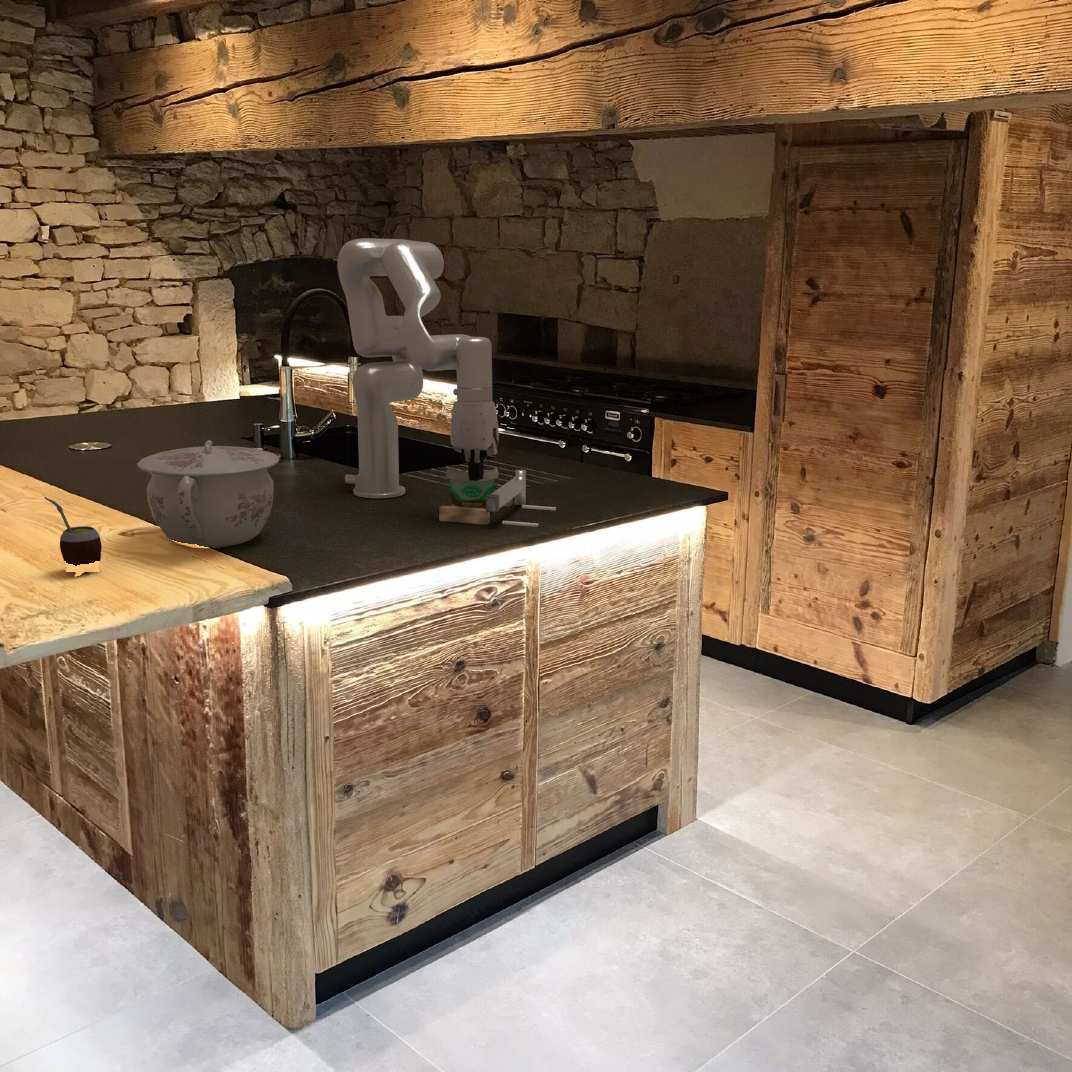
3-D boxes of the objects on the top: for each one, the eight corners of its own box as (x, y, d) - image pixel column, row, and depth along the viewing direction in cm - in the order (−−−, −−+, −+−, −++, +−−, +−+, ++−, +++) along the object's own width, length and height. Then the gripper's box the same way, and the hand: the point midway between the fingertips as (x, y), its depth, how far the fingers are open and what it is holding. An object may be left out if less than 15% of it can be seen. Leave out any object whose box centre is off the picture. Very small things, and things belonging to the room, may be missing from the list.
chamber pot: (230, 517, 241) (225, 424, 236) (311, 539, 224) (307, 440, 219) (113, 541, 220) (104, 440, 215) (192, 568, 203) (185, 459, 198)
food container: (450, 516, 245) (450, 473, 242) (445, 510, 250) (445, 467, 248) (504, 514, 248) (504, 471, 245) (497, 508, 254) (498, 465, 251)
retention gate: (485, 527, 235) (485, 491, 233) (516, 502, 258) (517, 469, 256) (496, 528, 234) (496, 491, 232) (526, 503, 257) (527, 470, 255)
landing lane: (502, 524, 239) (502, 521, 239) (522, 507, 255) (522, 504, 255) (537, 526, 237) (537, 524, 237) (555, 509, 253) (556, 507, 253)
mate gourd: (109, 566, 204) (102, 488, 200) (94, 579, 196) (86, 497, 192) (68, 566, 203) (60, 487, 199) (51, 578, 196) (43, 497, 192)
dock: (439, 520, 241) (439, 507, 240) (467, 501, 260) (467, 488, 259) (486, 524, 238) (486, 511, 238) (512, 504, 257) (512, 492, 256)
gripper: (436, 395, 234) (438, 479, 239) (493, 399, 227) (494, 486, 231) (456, 391, 241) (458, 473, 245) (513, 395, 233) (514, 480, 237)
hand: (475, 479), depth 238 cm, fingers closed
